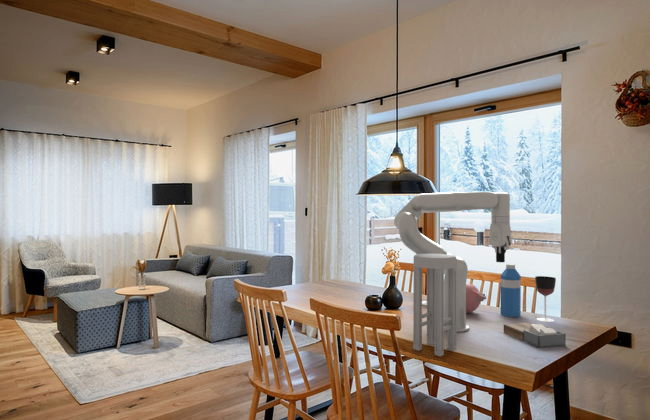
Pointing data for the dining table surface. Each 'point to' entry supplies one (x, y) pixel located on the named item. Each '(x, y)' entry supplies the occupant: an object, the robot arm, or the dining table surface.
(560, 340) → the tray
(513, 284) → the water bottle
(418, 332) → the stool
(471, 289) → the pomegranate
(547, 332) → the tile front
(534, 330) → the tile rear
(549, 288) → the wineglass
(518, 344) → the dining table surface
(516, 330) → the board
